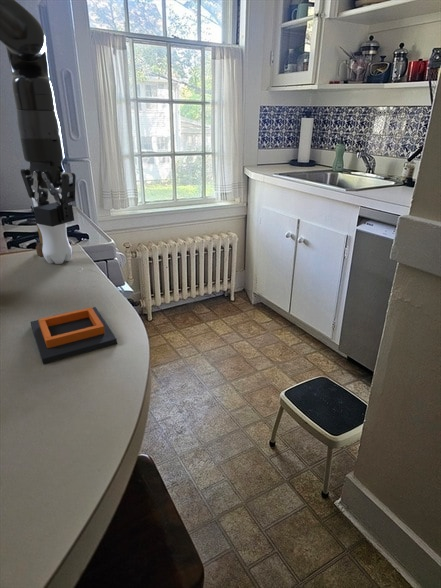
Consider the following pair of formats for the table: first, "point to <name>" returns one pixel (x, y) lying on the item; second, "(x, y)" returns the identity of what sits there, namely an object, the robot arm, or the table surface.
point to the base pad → (71, 334)
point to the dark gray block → (50, 214)
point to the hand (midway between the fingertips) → (55, 220)
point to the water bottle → (54, 239)
